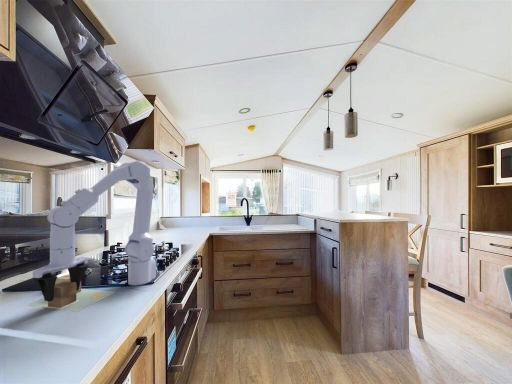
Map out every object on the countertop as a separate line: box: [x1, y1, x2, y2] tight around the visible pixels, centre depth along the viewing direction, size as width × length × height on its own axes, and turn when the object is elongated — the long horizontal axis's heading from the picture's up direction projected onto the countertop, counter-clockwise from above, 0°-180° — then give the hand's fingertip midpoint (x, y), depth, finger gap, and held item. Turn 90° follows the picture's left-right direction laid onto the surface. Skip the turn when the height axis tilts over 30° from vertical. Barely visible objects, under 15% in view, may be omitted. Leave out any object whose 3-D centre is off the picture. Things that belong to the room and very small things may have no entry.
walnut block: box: [48, 281, 77, 308], centre depth 71 cm, size 5×5×5 cm
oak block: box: [56, 274, 82, 293], centre depth 79 cm, size 5×5×5 cm
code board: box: [27, 288, 116, 312], centre depth 75 cm, size 14×17×1 cm
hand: (62, 295), depth 71 cm, fingers open, 7 cm apart
